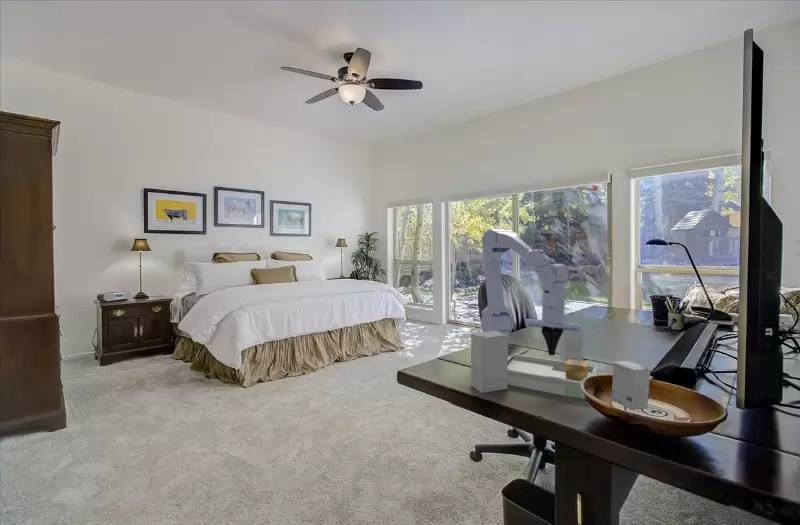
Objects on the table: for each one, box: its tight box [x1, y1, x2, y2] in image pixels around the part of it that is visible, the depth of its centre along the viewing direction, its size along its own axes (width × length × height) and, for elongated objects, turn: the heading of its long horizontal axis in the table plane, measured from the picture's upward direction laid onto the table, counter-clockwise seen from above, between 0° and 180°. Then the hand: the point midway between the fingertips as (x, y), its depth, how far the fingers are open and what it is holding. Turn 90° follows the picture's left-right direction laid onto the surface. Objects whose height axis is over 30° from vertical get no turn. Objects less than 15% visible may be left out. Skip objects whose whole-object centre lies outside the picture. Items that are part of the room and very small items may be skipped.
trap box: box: [507, 353, 599, 400], centre depth 105 cm, size 24×18×4 cm
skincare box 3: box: [610, 360, 651, 410], centre depth 81 cm, size 6×4×12 cm
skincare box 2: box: [559, 328, 584, 362], centre depth 121 cm, size 6×4×12 cm
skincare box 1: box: [470, 331, 509, 394], centre depth 99 cm, size 8×6×15 cm
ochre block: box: [566, 359, 589, 381], centre depth 101 cm, size 5×5×4 cm
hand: (551, 354), depth 104 cm, fingers closed
